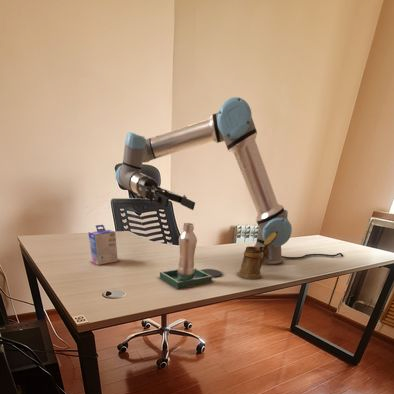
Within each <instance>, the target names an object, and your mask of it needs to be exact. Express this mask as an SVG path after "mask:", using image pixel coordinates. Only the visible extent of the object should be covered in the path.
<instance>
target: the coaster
mask: <svg viewBox="0 0 394 394" xmlns="http://www.w3.org/2000/svg"><path fill="white" fill-rule="evenodd" d="M200 271H202V272H204V273H206V274H208V275H210V276H212V278H218V277H221V276H222V275H223V273H222V272H221V271H220V270H217V269H214V268H213V269H212V268H205V269H200Z"/></svg>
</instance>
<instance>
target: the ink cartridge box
mask: <svg viewBox="0 0 394 394" xmlns="http://www.w3.org/2000/svg"><path fill="white" fill-rule="evenodd" d="M95 229H96V231H88V232H87V233H88V240H89V247H90V254H91V261H92V263H93V264H96V265H97V266H98V265H99V266H100V265H104V264H109V263H114V262H118V261H119V257H118V247H117V235H116V231H113V230H111V229H106V228H105V225H104V224H97V225H95Z"/></svg>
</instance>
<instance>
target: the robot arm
mask: <svg viewBox="0 0 394 394" xmlns="http://www.w3.org/2000/svg"><path fill="white" fill-rule="evenodd" d="M252 115H253V114H252V108H251V107H250V105H249V103H248V102H247V101H246V100H245V99H243V98H242V97H239V96H238V97H237V96H234V97H230V98H228V99H227V100H225V101H224V102H223V103H222V105H221V106H220V107H219V110H218V111H217V112H216V113H212V114H211V116H210V117H209V118H208V119H205V120H202V121H198V122H195V123H192V124H189V125H186V126H182V127H180V128H176V129H174V130H169V131H168V132H164V133H161V134H158V135H155V136H152V137H148V138H146V137H145V136H143V135H140V134H139V133H136V132H132V131H127V132H126V136H125V140H124V149H123V157H122V163H121V165H120V166H119V167H118V168H117V169H116V171H115V180H116V182H117V183H118V184H119V185H120V186H122V187H123V188H124V189H127V190H129V191H131V192H133V193H135V194H137V197H142V198H144V199H145V200H149V202H151V203H153V202H156V203H157V204H159V205H161V206H163V207H165V208H167V207H168V205H169V201H171V202H175V203H179V204H180V205H181V206H183V207H185V208H188V209H190V210H192V211H194V209H195V205H196V202H195V201H193V200H191V199H189V198H187V196H186V194H183V195H182V194H179V193H177V192H174V191H171V190H169V189H167V188H163V187H161V186H159V185H158V182H157V181H156V179H154V178H152V177H150V176H148V175H146V174H144V173H142V169H143V168H142V167H143V163H144V164H145V163H149V162H150V161H153V160H157V159H159V158H162V157H165V156H166V157H167V156H168V155H172V154H175V153H180V152H182V151H185V150H190V149H192V148H195V147H198V146H202V145H205V144H208V143H212V142H214V143H216V144H219V143H223V142H224V143H225V146H226V149H227V152H230V153H232V154H233V155H234V157H235V160H236V162H237V165H238V167H239V170H240V172H241V173H240V174H241V175H242V178H243V180H244V183H245V185H246V189H247V190H248V193H249V195H250V198H251V201H252V203H253V205H254V208H255V210H256V213H257V215H256V218H255V221H256V224H257V226H258V231H257V237H256V242H255V244H254V246H253V247H257V248H259V247H260V246H263V245H264V241H265V239H266V238H267V237H268V236H269V235H270V234H271V233H273V232H275V231H278V235H277V238H276V239H275V241H274V242H273V243H272V244H271V245H269V246H267V247H268V256H267V258H266V260H265V261H264V263H263V264H262V265H270V266H272V265H273V266H274V265H275V266H276V265H279V264H281V263H282V261H283V259H290V260H297V259H298V260H299V259H304V258H306V257H311V256H321V257H338V256H339V255H340V256H341V257H344V255H343V253H342V252H339V253H336V254H327V253H325V254H324V253H309V254H308V253H307V254H304V255H302V256H286V255H285V256H284V255H282V253H283V252H282V246H283V245H285V244H286V243H287V242H289V240H290V238H291V236H292V234H293V233H292V232H293V227H292V224H291V222H290V221H289V219H288V213H289V212H288V210H287V209H285V208H284V205H282V204H279V203H278V201H277V197H276V194H275V192H274V189H273V187H272V183H271V181H270V178H269V175H268V172H267V170H266V167H265V164H264V161H263V158H262V156H261V153H260V150H259V147H258V144H257V142H256V141H257V140H256V138H257V135H258V131H257V128H256V125H255V123H254V120H253V116H252ZM261 254H262V256H261V258H263V256H264V253H263V252H261ZM261 258H260V259H261ZM339 278H340V276H339V275H338V276H337V277H336V280H335V284H334V286H333V289H332V291H331V296H330V299H329V301H328V304H327V308H330V306H331V303H332V300H333V296H334V294H335V291H336V289H337V285H338V283H339Z"/></svg>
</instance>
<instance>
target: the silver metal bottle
mask: <svg viewBox="0 0 394 394" xmlns="http://www.w3.org/2000/svg"><path fill="white" fill-rule="evenodd" d="M194 230H195V225H194V223H191V222H184V223H183V224H182V232H181V233H180V235H179V238H178V247H179V259H178V267H177V269H178V270H177V269H176V270H177V275H178V277H179V278H180V279H182V280H190V279H193V277H194V274H195V269H194V268H195V254H196V247H197V242H198V238H197V236H196V234H195V232H194Z"/></svg>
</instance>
